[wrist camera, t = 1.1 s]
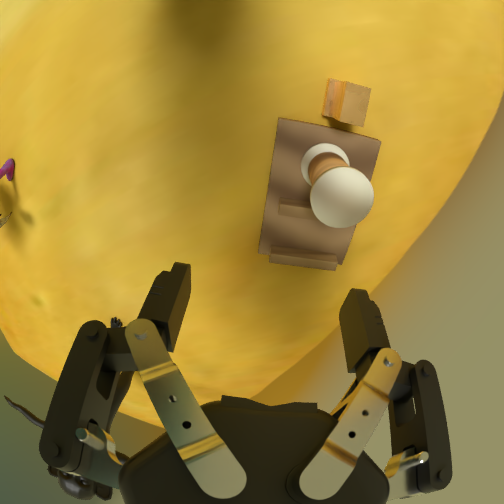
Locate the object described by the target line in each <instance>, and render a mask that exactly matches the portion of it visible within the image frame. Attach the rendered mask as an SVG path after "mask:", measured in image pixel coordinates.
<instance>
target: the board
mask: <svg viewBox="0 0 504 504" xmlns="http://www.w3.org/2000/svg"><path fill="white" fill-rule="evenodd" d="M380 145H381V141H379V140H378V139H375V138H371V137H367V136H364V135H360V134H356V133H353V132H349V131H345V130H340V129H336V128H332V127H327V126H323V125H318V124H313V123H308V122H302V121H297V120H291V119H285V118H279V119H278V125H277V132H276V139H275V145H274V152H273V159H272V165H271V172H270V178H269V185H268V191H267V198H266V204H265V211H264V217H263V224H262V230H261V236H260V243H259V249H258V254H265V255H269V262H270V263H278V264H285V265H293V266H301V267H308V268H316V269H324V270H332V271H335V270H336V267H337V264H340V265H342V263H343V260H344V258H345V255H346V252H347V250H348V247H349V244H350V242H351V239H352V236H353V233H354V230H355V227H356V225H357V223H359V222H360V221H362V220H363V219H364V218H365V217H366V216H367V214H368V213H369V212H370V210H371V208H372V205H373V200H374V192H373V188H372V185H371V183H370V181H371V178H372V174H373V171H374V167H375V164H376V160H377V156H378V153H379V149H380Z"/></svg>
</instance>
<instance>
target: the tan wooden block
mask: <svg viewBox="0 0 504 504" xmlns="http://www.w3.org/2000/svg"><path fill="white" fill-rule="evenodd" d="M370 92H371V89H370V88H367V87H364V86H360V85H357V84H353V83H350V82H342V81H338V80H334V79H330V78H329V79H328V82H327V88H326V93H325V99H324V105H323V110H322V115H324V116H328V117H332V118H335V119H336V120H338V121H340V122H344V123H348V124H352V125H356V126H360V127H363V126H364V121H365V117H366V112H367V107H368V102H369V97H370Z"/></svg>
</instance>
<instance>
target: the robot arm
mask: <svg viewBox="0 0 504 504" xmlns="http://www.w3.org/2000/svg"><path fill="white" fill-rule="evenodd" d="M190 293H191V265H190V264H185V263H179V262H175V263H174V265H173V267H172V269H171V272H168V271H162V272H161V273H160V274H159V275H158V276H157V277H156V278H155V280H154V282H153V284H152V287H151V289H150V291H149V293H148V295H147V297H146V300H145V302H144V304H143V306H142V309H141V311H140V313H139V316H138V317H137V319H136V320H133V321H132V322H130V323H129V324H128V325H127V326H126V327H120V328H106V326H105V325H104V324H103V323H102V322H100V321H97V320H92V321H88V322H86V323H85V324H83V325H82V326H81V328H80V329H79V332H78V334H77V336H76V338H75V341H74V343H73V345H72V348H71V350H70V352H69V355H68V357H67V360H66V362H65V365H64V367H63V370H62V373H61V375H60V378H59V381H58V383H57V386H56V389H55V392H54V395H53V398H52V401H51V404H50V407H49V411H48V414H47V417H46V420H45V424H44V428H43V431H42V435H41V440H40V443H39V451H40V454H41V457H42V458H43V460H44V461H45V462H46V463H47V464H48V465H49V466H51V467H54V468H57V469H59V470H61V471H63V472H66V473H70V474H73V475H77V476H83V477H86V478H88V479H91V480H93V481H96V482H99V483H102V484H104V485H107V486H110V487H113V488H116V489H120V492H121V494H122V497H123V499H124V502H125V504H386V502H387V501H388V500H393V499H397V498H400V499H403V498H409V497H413V496H418V495H422V494H426V493H430V492H434V491H438V490H441V489H444V488H445V487H446V486H447V485H448V484H449V483H450V480H451V478H452V461H451V452H450V442H449V435H448V428H447V422H446V416H445V411H444V405H443V400H442V396H441V391H440V386H439V382H438V378H437V374H436V370H435V368H434V366H433V365H432V364H431V363H430V362H429V361H427V360H420V361H418V362H417V363H416V364H415V365H414V364H411V363H408V362H404V361H402V360H401V357H400V355H399V354H398V353H397V352H396V351H395V350H393V349H391V347H390V344H389V340H388V336H387V333H386V330H385V326H384V325H383V320H382V318H381V313H380V310H379V308H378V307H377V305H376V304H375V302H374V301H371V300H370V299H369V296H368V293H367V291H366V290H363V289H355V288H352V289H351V290H350V291H349V293H348V295H347V297H346V299H345V301H344V303H343V305H342V307H341V309H340V313H339V321H340V326H341V332H342V338H343V344H344V350H345V356H346V362H347V368H348V373H356V378H355V379H354V381H353V382H352V384H351V385H350V387H349V388H348V390H347V391H346V393H345V394H344V396H343V398H342V399H341V400H340V402H339V403H338V405H337V406H336V407H335V408H334V409H333V410H332V412H331V413H330V414H329V413H327V412H325V411H322V410H320V409H317V403H301V402H294V403H288V404H282V405H277V406H267V405H264V404H261V403H258V402H255V401H252V400H250V399H247V398H240V397H232V396H225V395H222V398H221V401H213V402H209V403H206V404H203V405H201V406H199V404H198V402H197V401H196V399H195V397H194V396H193V394H192V392H191V390H190V389H189V387H188V385H187V383H186V381H185V380H184V378H183V376H182V374H181V372H180V370H179V369H178V367H177V365H176V364H174V363H173V361H172V359H171V357H170V355H169V353H168V352H173V351H174V348H175V344H176V341H177V338H178V334H179V331H180V327H181V324H182V321H183V317H184V314H185V311H186V308H187V305H188V301H189V298H190ZM121 371H139V373H140V376H141V379H142V381H143V383H144V386H145V388H146V390H147V392H148V395H149V397H150V399H151V401H152V403H153V405H154V407H155V409H156V412H157V414H158V416H159V418H160V420H161V421H162V423H163V425H164V427H165V429H166V432H165V433H164V434H162V435H161V436H159V437H158V438H157V439H156V440H154V441H153V442H151V443H150V444H149V445H147V446H146V447H145V448H143V449H142V450H141V451H139V452H138V453H136V454H135V455H134V456H132V457H131V458H129V459H128V460H127V461H126V462H125V463H124V464H123V465H122V464H121V463H120V462H119V460H118V459H117V457H116V454H115V443H114V440H113V439H112V437H111V436H110V435H109V434H108V433H106V432H105V430H106V426H107V422H108V417H109V413H110V409H111V405H112V401H113V398H114V394H115V390H116V387H117V383H118V379H119V376H120V372H121ZM413 398H414V403H415V409H416V414H415V410H414V404H413ZM387 406H388V410H389V420H390V432H391V446H392V457H391V458H390V459H389V461H388V463H387V466H386V467H385V470H384V471H385V474H384V472H383V471H382V470H381V469H380V468H379V467H378V466H377V465H376V464H375V463H374V462H373V460H372V459H371V458H370V457H369V456H368V455H367V454H366V453H365V452H364V450H363V449H364V447H365V446H366V444H367V443H368V441H369V439H370V437H371V436H372V434H373V432H374V430H375V428H376V427H377V425H378V423H379V421H380V420H381V418H382V416H383V414H384V412H385V410H386V408H387Z"/></svg>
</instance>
